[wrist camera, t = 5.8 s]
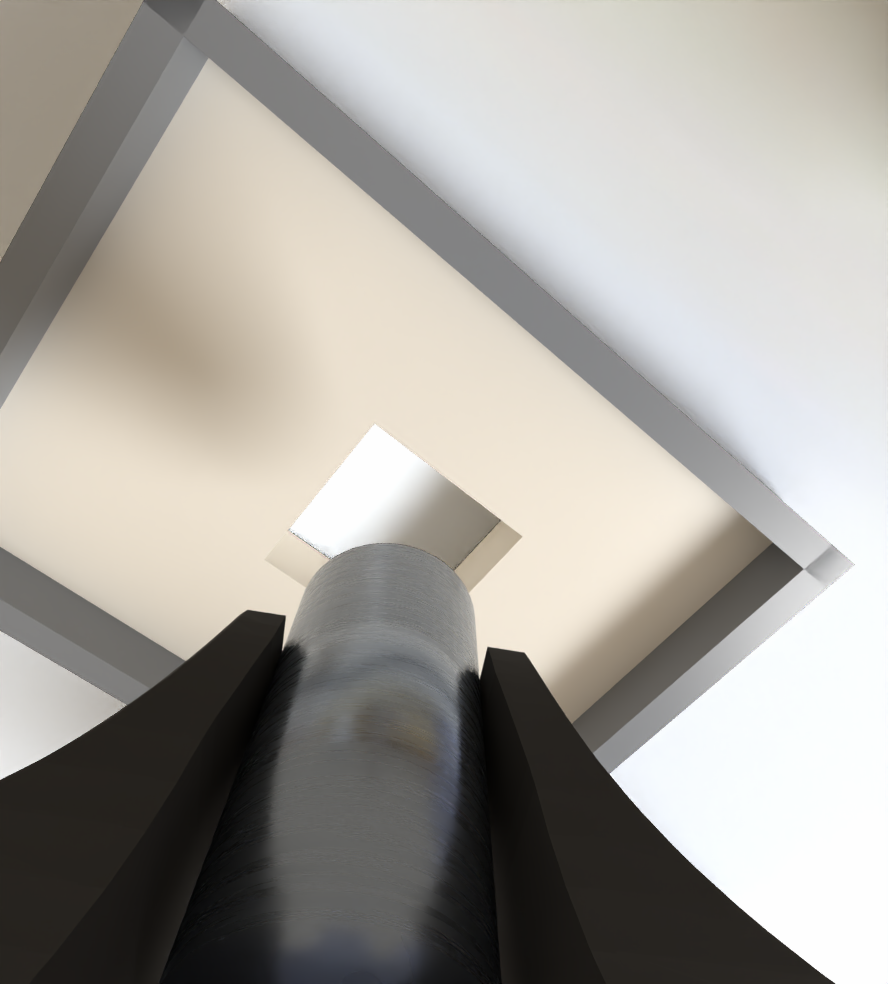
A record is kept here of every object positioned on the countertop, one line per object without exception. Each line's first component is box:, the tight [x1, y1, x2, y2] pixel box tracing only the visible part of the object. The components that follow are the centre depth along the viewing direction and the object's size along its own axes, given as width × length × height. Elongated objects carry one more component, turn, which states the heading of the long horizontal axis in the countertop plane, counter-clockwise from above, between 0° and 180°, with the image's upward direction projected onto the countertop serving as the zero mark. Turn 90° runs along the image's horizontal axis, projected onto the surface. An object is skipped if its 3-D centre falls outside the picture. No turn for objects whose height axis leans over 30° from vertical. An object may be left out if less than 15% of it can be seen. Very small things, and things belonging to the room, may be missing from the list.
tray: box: [0, 0, 854, 773], centre depth 17 cm, size 14×18×4 cm
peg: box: [159, 543, 502, 984], centre depth 10 cm, size 3×3×7 cm
